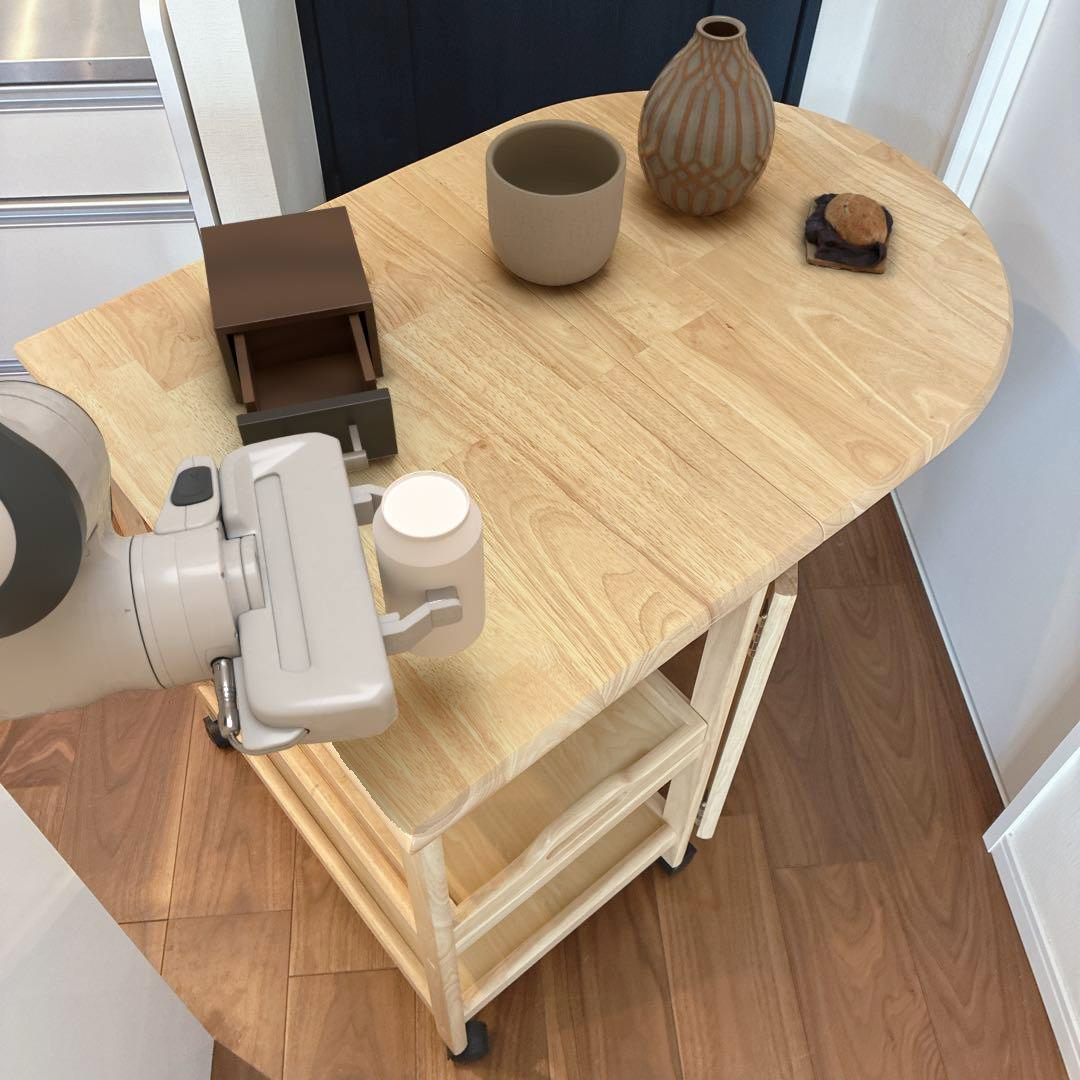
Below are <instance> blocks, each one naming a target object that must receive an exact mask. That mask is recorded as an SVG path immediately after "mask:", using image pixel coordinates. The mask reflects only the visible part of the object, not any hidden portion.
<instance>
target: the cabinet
mask: <svg viewBox="0 0 1080 1080" xmlns="http://www.w3.org/2000/svg"><path fill="white" fill-rule="evenodd" d="M199 232H200V233H199V234H200V240H201V246H202V247H201V248H202V253H203V260H204V268H205V269H204V270H205V275H206V276H205V277H206V282H207V290H208V297H209V303H210V304H209V305H210V311H211V312H210V313H211V319H212V324H213V330H214V331H213V332H214V335H215V337H216V341H217V344H218V347H219V351H220V354H221V357H222V361H223V365H224V368H225V371H226V374H227V377H228V381H229V384H230V388H231V391H232V394H233V398H234V401H235V403H244V400H243V393H242V387H241V380H240V374H239V368H238V361H237V355H236V348H235V342H234V336H233V333H237V332H243V331H249V330H255V329H261V328H267V327H273V326H279V325H284V324H290V323H296V322H302V321H308V320H314V319H320V318H325V317H331V316H337V315H343V314H349V313H355V312H358V315H359V318H360V322H361V326H362V329H363V333H364V337H365V341H366V344H367V348H368V352H369V355H370V359H371V363H372V367H373V370H374V374H375V378H380V377H384V369H383V363H382V355H381V347H380V341H379V335H378V328H377V327H378V326H377V320H376V313H375V307H374V305H375V304H374V300H373V297H372V294H371V290H370V286H369V283H368V280H367V275H366V272H365V269H364V265H363V263H362V258H361V254H360V251H359V248H358V245H357V241H356V237H355V234H354V231H353V227H352V224H351V220H350V217H349V212H348V210H347V207H346V205H341V206H334V207H327V208H322V209H321V208H320V209H314V210H307V211H301V212H294V213H289V214H288V213H287V214H281V215H274V216H267V217H262V218H261V217H260V218H255V219H247V220H242V221H236V222H235V221H234V222H229V223H222V224H216V225H210V226H202V227H200V228H199Z"/></svg>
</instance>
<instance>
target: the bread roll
mask: <svg viewBox="0 0 1080 1080" xmlns="http://www.w3.org/2000/svg"><path fill="white" fill-rule="evenodd" d="M893 225H894V219H893V215H892V214H891V212H889V210H888V209H887V208H886V206H885V205H884V204H880V203H878V202H877V201H876V200H875V199H872V198H870V197H868V196H865V195H863V194H860V193H859V194H858V193H852V192H843V193H833V192H831V193H823V194H821V195H817V196H814V197H813V198H812V200H811V203H810V205H809V210H808V214H807V219H806V220H805V227H804V230H805V233H804V236H805V239H806V240H805V241H804V244H805V257H806V263H807V264H811V265H814V266H816V267H818V266H822V267H826V268H831V269H836V270H841V269H845V270H849V271H851V272H867V273H875V274H884V272H885V271H886V269H887V265H886V264H887V255H888V254H889V252H888V250H889V241H890V239H889V237H890V234H891V233H892V230H893Z"/></svg>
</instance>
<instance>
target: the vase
mask: <svg viewBox="0 0 1080 1080" xmlns="http://www.w3.org/2000/svg"><path fill="white" fill-rule="evenodd" d="M746 35H747V28H746V25H745V24H744V23H743V22H742V21H740V20H739V19H737V18H735V17H731V16H727V15H711V16H706V17H703V18H701V19H700V20H699V21H698V22H697V23H696V27H695V31H694V33H693V35H692V36H691V38H690V39H689V40H688V42H687V43H686V44H685V45H684V46H683V47H682V48H681V49H680V50H679V51H677V53H676V54H675V55H674V56H673V57H672V58H671V59H670V60H669V62H667V64H665V66H664V67H663V69H662V70H661V71H660V72H659V73H658V75H657V76H656V77H655V80H653V83H652V84H651V86H650V88H649V90H648V92H647V95H646V96H645V99H644V102H643V105H642V107H641V112H640V116H639V121H638V127H637V143H636V144H637V156H638V159H639V164H640V168H641V171H642V173H643V177H644V178H645V181H646V182H647V184H648V186H649V188H650V189H651V190H652V192H653V193H654V194H655V195H656V196H657V197H658V198H659V199H660V200H661V201H662V202H663V203H665V204H666V205H667V206H668V207H670V208H671V209H672V210H674V211H676V212H678V213H680V214H684V215H687V216H694V217H706V216H712V215H715V214H718V213H721V212H723V211H724V210H727V209H730V208H731V207H733V206H735V205H736V204H738V203H740V202H741V201H742V200H743V199H744V198H746V197H747V195H748V194H749V193H750V192H751V191H753V189H754V188H755V186H756V185H757V184H758V182H759V181H760V179H761V178H762V177H763V175H764V172H765V171H766V169H767V166H768V164H769V160H770V158H771V154H772V151H773V146H774V141H775V132H776V110H775V109H776V108H775V104H774V99H773V95H772V91H771V88H770V85H769V82H768V80H767V78H766V75H765V74H764V72H763V70H762V68H761V66H760V65H759V62H758V61H757V59H756V58H755V56H754V55H753V52H752V51H751V49H750V47H749V44H748V41H747V38H746Z"/></svg>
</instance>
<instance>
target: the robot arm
mask: <svg viewBox="0 0 1080 1080" xmlns="http://www.w3.org/2000/svg"><path fill="white" fill-rule="evenodd" d="M111 466H112V465H111V459H110V455H109V451H108V447H107V446H106V442H105V440H104V436H103V435H102V432H101V430H100V429H99V427H98V425H97V423H96V422H95V420H94V419H93V418H92V417H91V415H90V414H89V413H88V412H87V411H86V410H85V409H84V408H83V407H82V406H81V405H80V404H79V403H77V402H76V401H75V400H73V399H72V398H71V397H70V396H68V395H66V394H64V393H63V392H61V391H59V390H57V389H54V388H53V387H49V386H47V385H44V384H41V383H37V382H32V381H27V380H19V379H4V380H0V723H2V722H3V723H4V722H11V721H17V720H24V719H29V718H37V717H42V716H47V715H53V714H58V713H63V712H69V711H73V710H77V709H82V708H86V707H89V706H91V705H94V704H96V703H97V702H99V701H101V700H104V699H105V698H107V697H109V696H112V695H115V694H118V693H122V692H127V691H165V690H169V689H173V688H174V689H175V688H178V687H183V686H188V685H189V686H190V685H192V684H197V683H203V682H205V681H206V682H207V681H210V680H213V687H214V693H215V697H216V701H217V707H218V712H217V726H218V730H219V733H220V736H221V737H222V739H223V738H224V739H227V740H228V742H229V743H230V745H231V746H232V747H233V748H234V749H235V750H236V751H238V752H240V753H242V754H245V755H248V756H250V757H259V756H260V757H261V756H265V755H270V754H274V753H278V752H283V751H287V750H289V749H292V748H294V747H296V745H297V746H298V745H300V746H301V745H316V744H326V743H328V744H329V743H336V742H345V741H353V740H358V739H363V738H368V737H374V736H378V735H382V734H383V733H384V732H386V731H387V730H388V729H389V728H390V727H391V726H392V725H393V724H394V722H395V721H396V720H397V719H398V718H399V709H398V702H397V701H398V700H397V696H396V692H395V688H394V682H393V678H392V674H391V669H390V665H389V660H388V657H391V656H395V655H400V654H404V653H405V654H406V653H409V652H408V651H409V650H410V649H411V648H412V647H413V646H415V645H416V644H417V643H418V642H419V641H421V640H422V639H423V638H424V637H425V636H426V635H428V634H429V633H430V632H431V631H432V628H436V627H441V626H446V625H450V624H455V623H457V622H459V621H461V620H462V618H463V616H462V606H461V602H460V599H459V596H458V592H457V589H456V587H455V586H448V587H444V588H442V589H433V590H426V599H427V602H426V603H425V604H423V605H422V606H420V607H419V608H417V609H416V610H415V611H413V612H412V613H410V614H409V615H408V616H406V617H405V618H403V619H402V620H400V616H399V613H398V612H394V613H389V614H386V613H384V614H380V615H379V614H378V609H377V606H376V600H375V596H374V591H373V586H372V583H371V577H370V574H369V569H368V564H367V561H366V560H367V559H366V555H365V551H364V546H363V542H362V541H363V540H362V537H361V531H360V527H361V526H362V527H363V526H365V525H371V524H373V518H374V515H375V513H376V511H377V509H378V507H379V506H380V504H381V501H382V497H383V495H384V493H385V491H386V490H387V488H388V487H387V488H386V487H383V486H379V485H374V484H371V483H367V484H360V485H355V486H350V482H349V478H348V474H347V473H348V472H346V468H345V464H344V459H343V454H342V450H341V445H340V441H339V440H338V439H337V438H334V437H332V436H329V435H326V434H323V433H317V432H314V433H304V434H298V435H292V436H286V437H281V438H276V439H271V440H267V441H262V442H258V443H254V444H250V445H247V446H241V447H238V448H236V449H234V450H231V452H229V453H228V454H227V455H225V456H224V457H223V459H222V460H221V461H220V464H219V466H217V463H216V461H215V459H214V458H213V456H211V455H209V454H208V455H207V454H198V455H194V456H189V457H185V458H183V459H182V460H181V461H179V463H178V464H177V466H176V468H175V471H174V474H173V476H172V479H171V483H170V486H169V489H168V492H167V494H166V497H165V498H164V499H165V500H164V501H163V505H162V506H161V509H160V511H159V513H158V515H157V518H156V519H155V522H154V524H153V531H149V532H144V533H139V534H134V535H129V536H128V535H127V536H122V535H120V534H118V533H117V531H116V530H115V529H114V525H113V495H112V467H111ZM239 735H240V736H241V741H240V740H239V739H238V736H239Z"/></svg>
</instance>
